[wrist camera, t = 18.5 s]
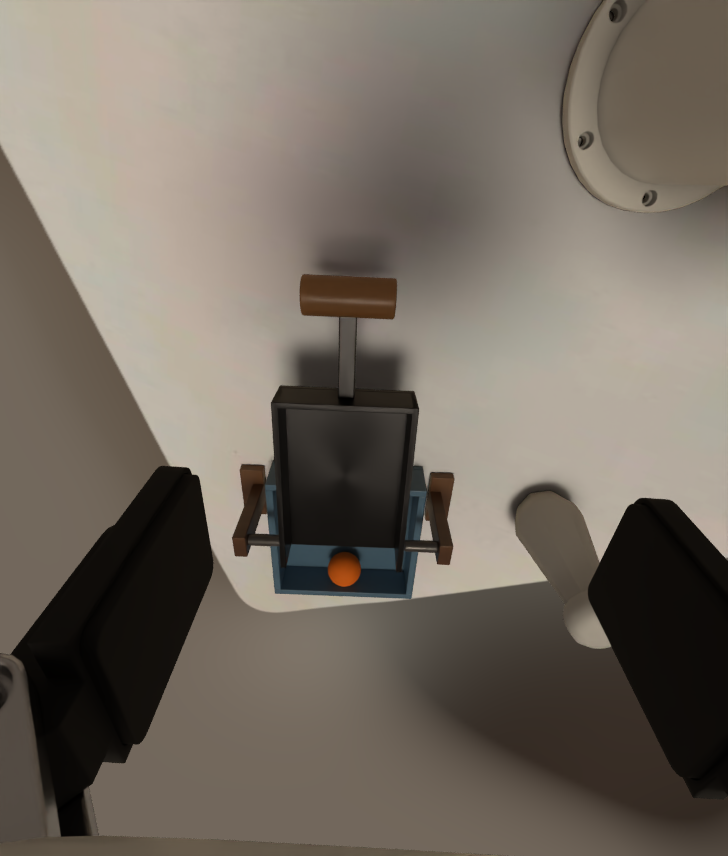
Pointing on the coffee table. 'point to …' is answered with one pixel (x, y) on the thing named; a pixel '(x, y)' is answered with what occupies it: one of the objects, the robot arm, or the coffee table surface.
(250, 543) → the stand
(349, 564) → the ball
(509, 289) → the coffee table surface
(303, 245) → the coffee table surface
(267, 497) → the tray
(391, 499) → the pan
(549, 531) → the salt shaker
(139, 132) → the coffee table surface
